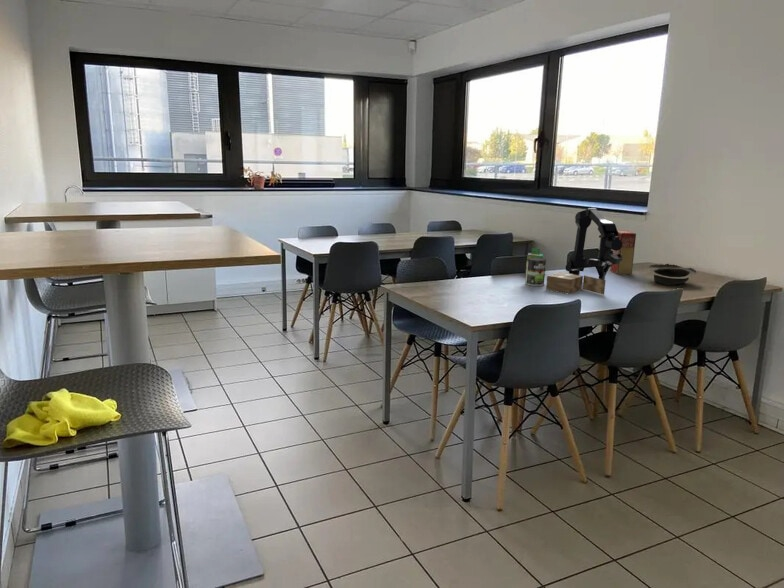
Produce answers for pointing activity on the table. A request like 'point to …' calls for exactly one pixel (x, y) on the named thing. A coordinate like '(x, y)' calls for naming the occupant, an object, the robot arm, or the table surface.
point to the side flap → (594, 284)
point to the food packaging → (625, 253)
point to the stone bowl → (671, 274)
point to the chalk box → (535, 254)
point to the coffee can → (535, 271)
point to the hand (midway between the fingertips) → (602, 278)
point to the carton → (564, 282)
